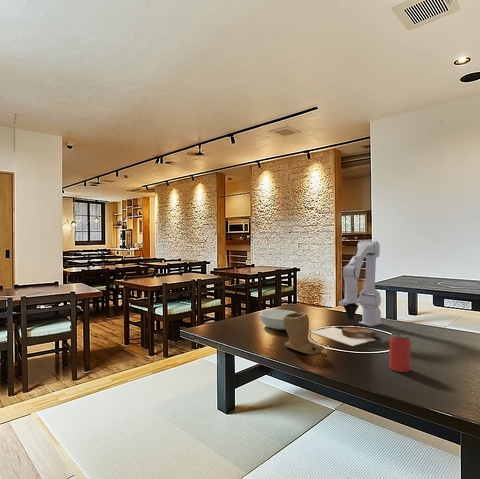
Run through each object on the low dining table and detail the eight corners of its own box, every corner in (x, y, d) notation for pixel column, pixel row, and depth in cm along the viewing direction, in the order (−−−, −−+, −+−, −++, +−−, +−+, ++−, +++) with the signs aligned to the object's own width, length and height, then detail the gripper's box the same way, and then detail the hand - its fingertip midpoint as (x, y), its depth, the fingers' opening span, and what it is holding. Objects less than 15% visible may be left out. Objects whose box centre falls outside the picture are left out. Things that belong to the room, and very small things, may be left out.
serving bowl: (267, 334, 159) (267, 320, 158) (254, 323, 179) (254, 310, 179) (308, 331, 164) (308, 317, 164) (290, 321, 184) (290, 308, 184)
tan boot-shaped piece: (277, 347, 140) (277, 311, 140) (298, 343, 146) (299, 308, 146) (302, 359, 127) (303, 319, 127) (325, 353, 134) (325, 315, 133)
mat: (332, 327, 171) (332, 327, 171) (375, 340, 152) (375, 339, 152) (310, 332, 162) (310, 331, 162) (352, 346, 143) (352, 345, 143)
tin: (372, 328, 161) (377, 331, 153) (372, 334, 161) (377, 338, 152) (339, 326, 162) (343, 329, 154) (339, 333, 162) (343, 337, 154)
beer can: (385, 366, 121) (386, 332, 121) (403, 365, 121) (403, 332, 121) (395, 373, 114) (396, 337, 114) (414, 373, 115) (414, 337, 115)
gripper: (353, 288, 168) (353, 316, 168) (333, 291, 160) (333, 319, 160) (366, 290, 162) (365, 319, 162) (346, 293, 154) (345, 323, 154)
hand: (350, 319), depth 160 cm, fingers closed
